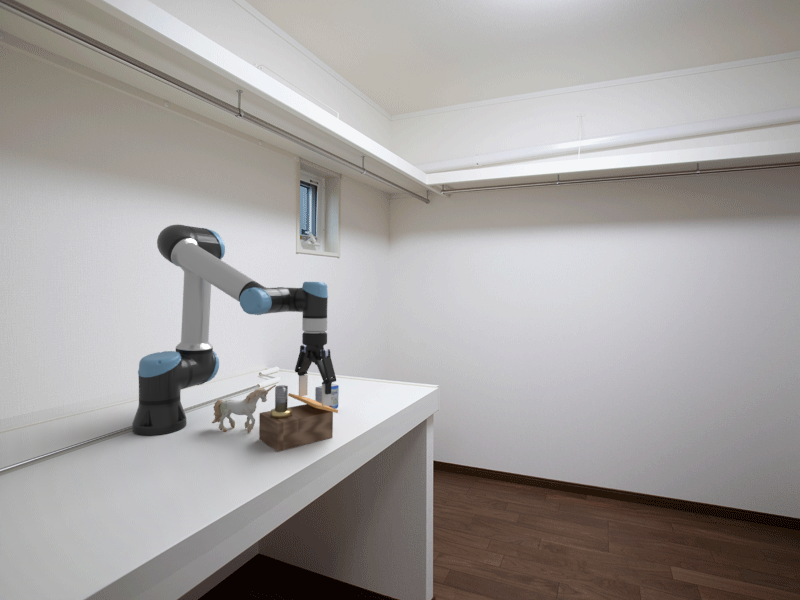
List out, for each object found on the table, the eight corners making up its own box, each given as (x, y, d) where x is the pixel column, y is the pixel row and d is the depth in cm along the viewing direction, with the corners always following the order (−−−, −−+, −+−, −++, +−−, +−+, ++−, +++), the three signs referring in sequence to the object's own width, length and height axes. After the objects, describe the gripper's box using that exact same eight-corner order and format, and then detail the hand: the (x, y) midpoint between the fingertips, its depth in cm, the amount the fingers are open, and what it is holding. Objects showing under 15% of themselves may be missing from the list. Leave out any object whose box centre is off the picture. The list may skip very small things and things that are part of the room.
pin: (276, 444, 126) (276, 390, 125) (266, 438, 130) (267, 386, 130) (295, 439, 130) (295, 387, 129) (285, 433, 134) (286, 383, 134)
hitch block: (277, 451, 123) (277, 423, 123) (259, 439, 132) (259, 412, 132) (332, 437, 135) (332, 411, 135) (312, 427, 144) (312, 403, 144)
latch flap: (315, 407, 128) (316, 405, 128) (288, 395, 140) (288, 393, 140) (337, 413, 133) (338, 410, 133) (308, 400, 145) (309, 398, 146)
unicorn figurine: (275, 432, 139) (275, 389, 138) (208, 436, 134) (208, 392, 133) (275, 424, 146) (276, 384, 145) (212, 428, 141) (212, 386, 140)
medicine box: (323, 412, 161) (323, 388, 160) (314, 409, 163) (315, 386, 163) (338, 407, 167) (339, 384, 166) (330, 405, 170) (330, 383, 169)
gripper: (348, 334, 129) (347, 406, 130) (305, 327, 148) (304, 390, 148) (326, 336, 124) (325, 411, 125) (284, 329, 143) (284, 394, 143)
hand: (314, 400), depth 137 cm, fingers open, 13 cm apart
